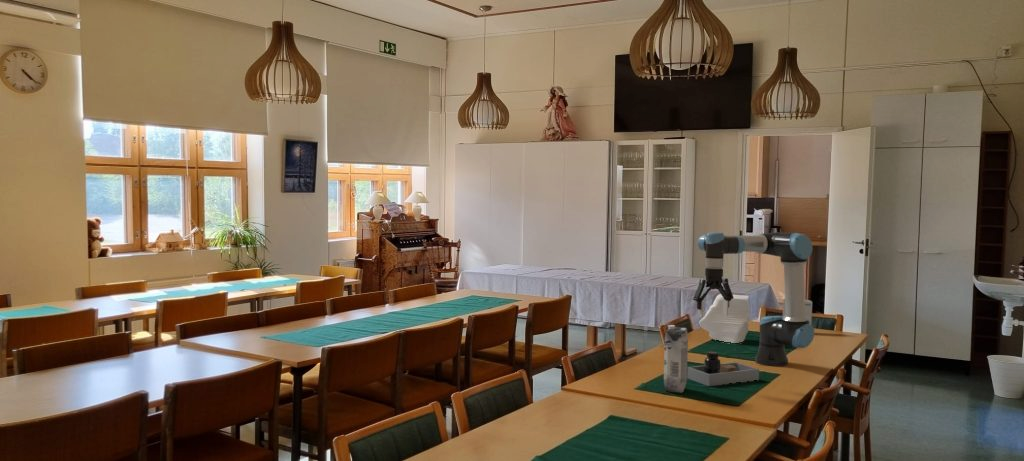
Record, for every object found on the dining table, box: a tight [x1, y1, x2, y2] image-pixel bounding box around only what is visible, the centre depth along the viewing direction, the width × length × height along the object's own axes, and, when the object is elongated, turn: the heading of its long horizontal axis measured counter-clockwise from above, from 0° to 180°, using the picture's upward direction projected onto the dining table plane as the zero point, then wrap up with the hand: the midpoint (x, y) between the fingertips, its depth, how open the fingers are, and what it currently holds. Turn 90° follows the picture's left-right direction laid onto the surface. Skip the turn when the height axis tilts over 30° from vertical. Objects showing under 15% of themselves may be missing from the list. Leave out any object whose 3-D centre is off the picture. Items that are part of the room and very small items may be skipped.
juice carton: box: [663, 324, 689, 394], centre depth 301 cm, size 9×10×27 cm
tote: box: [687, 361, 760, 387], centre depth 320 cm, size 28×15×5 cm, turn 114°
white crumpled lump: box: [698, 293, 751, 343], centre depth 411 cm, size 21×27×26 cm
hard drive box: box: [782, 298, 813, 326], centre depth 437 cm, size 16×8×20 cm, turn 81°
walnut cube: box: [720, 365, 737, 373], centre depth 322 cm, size 5×5×5 cm
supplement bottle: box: [703, 351, 721, 374], centre depth 317 cm, size 7×7×12 cm
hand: (713, 316), depth 317 cm, fingers open, 13 cm apart
